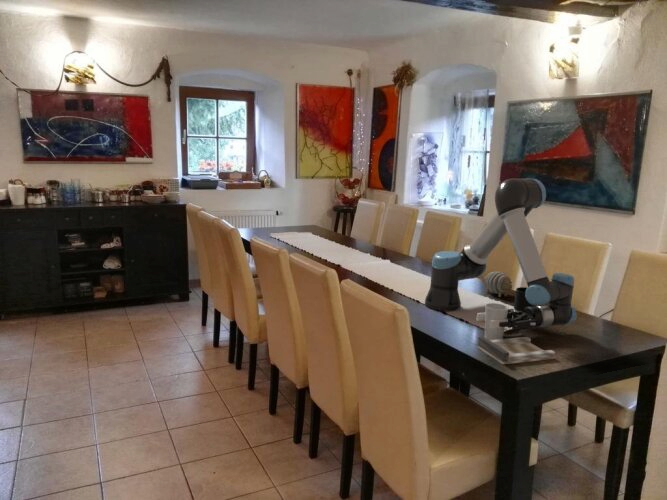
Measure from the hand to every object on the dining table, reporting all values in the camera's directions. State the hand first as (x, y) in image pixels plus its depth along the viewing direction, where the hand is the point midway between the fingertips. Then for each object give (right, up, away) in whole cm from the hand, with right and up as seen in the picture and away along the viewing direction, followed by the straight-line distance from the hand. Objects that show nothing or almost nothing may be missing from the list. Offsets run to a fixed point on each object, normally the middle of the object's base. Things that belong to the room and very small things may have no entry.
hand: (483, 320), depth 178 cm
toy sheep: (+24, +4, +61) cm, 65 cm away
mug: (+29, -1, +39) cm, 48 cm away
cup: (+4, -7, +3) cm, 9 cm away
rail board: (+8, -9, -10) cm, 16 cm away
